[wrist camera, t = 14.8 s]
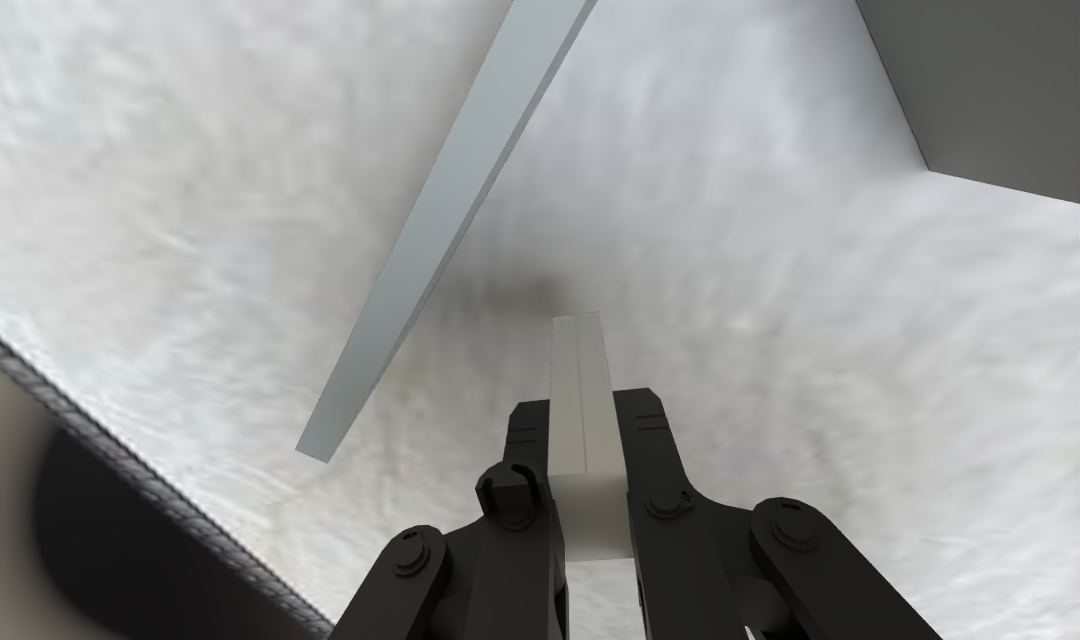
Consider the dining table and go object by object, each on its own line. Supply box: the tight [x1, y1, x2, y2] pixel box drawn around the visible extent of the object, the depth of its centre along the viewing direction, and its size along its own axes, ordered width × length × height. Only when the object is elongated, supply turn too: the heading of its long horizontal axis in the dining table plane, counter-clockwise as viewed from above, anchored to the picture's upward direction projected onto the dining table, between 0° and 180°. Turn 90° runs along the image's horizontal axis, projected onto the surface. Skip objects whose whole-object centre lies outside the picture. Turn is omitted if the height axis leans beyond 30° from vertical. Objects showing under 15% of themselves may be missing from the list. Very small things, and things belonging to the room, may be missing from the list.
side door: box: [295, 0, 597, 464], centre depth 11 cm, size 1×21×8 cm, turn 147°
